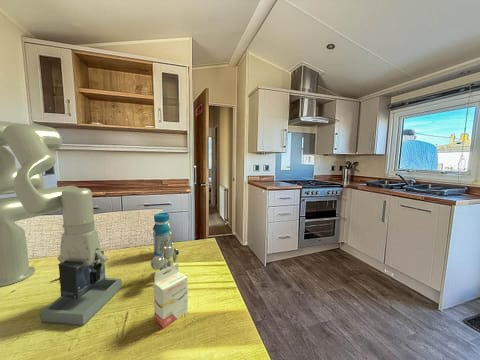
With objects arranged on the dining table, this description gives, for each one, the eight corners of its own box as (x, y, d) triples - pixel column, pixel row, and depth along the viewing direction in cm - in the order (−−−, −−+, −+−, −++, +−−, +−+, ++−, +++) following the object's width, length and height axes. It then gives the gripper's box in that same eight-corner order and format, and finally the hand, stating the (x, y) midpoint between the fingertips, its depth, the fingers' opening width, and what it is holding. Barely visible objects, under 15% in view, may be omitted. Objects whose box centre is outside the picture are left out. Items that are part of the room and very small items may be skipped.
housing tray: (41, 322, 60) (39, 311, 59) (88, 285, 76) (87, 277, 76) (83, 325, 59) (82, 314, 58) (121, 287, 75) (121, 278, 75)
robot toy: (161, 290, 74) (160, 250, 72) (147, 287, 76) (145, 248, 74) (183, 269, 88) (182, 235, 87) (170, 266, 90) (169, 233, 88)
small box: (77, 300, 61) (74, 266, 60) (59, 297, 62) (56, 264, 61) (107, 279, 71) (104, 250, 70) (91, 277, 73) (88, 248, 71)
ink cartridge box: (163, 329, 58) (161, 280, 56) (154, 320, 61) (152, 273, 59) (188, 311, 64) (187, 267, 62) (179, 304, 67) (178, 261, 66)
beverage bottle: (161, 260, 96) (159, 218, 93) (150, 255, 100) (148, 215, 98) (175, 252, 103) (174, 213, 101) (164, 248, 107) (163, 211, 105)
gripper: (41, 231, 61) (47, 287, 63) (97, 233, 60) (101, 290, 62) (64, 223, 69) (69, 273, 71) (114, 224, 68) (118, 275, 70)
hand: (84, 280), depth 67 cm, fingers closed on small box, 6 cm apart
